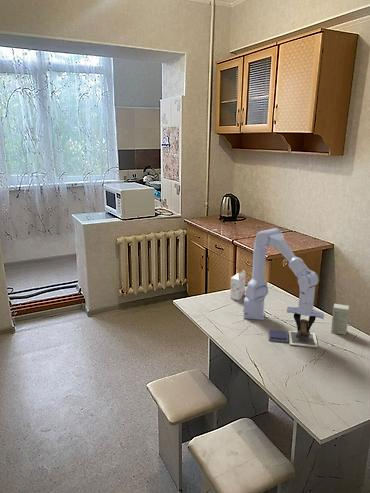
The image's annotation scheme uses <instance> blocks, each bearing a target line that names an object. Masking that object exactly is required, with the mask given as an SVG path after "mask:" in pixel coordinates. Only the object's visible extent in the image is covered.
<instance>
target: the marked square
mask: <svg viewBox="0 0 370 493" xmlns="http://www.w3.org/2000/svg"><path fill="white" fill-rule="evenodd" d="M297 331H298V330H288V331H287V332H288V343H289V346H291V347H292V346H293V347H303V348H312V349H318V348H319V345H318V341H317V337H316V333H315V332H310V336H309V339H308V340H305V339H301V338H296V333H297Z"/></svg>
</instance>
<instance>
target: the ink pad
mask: <svg viewBox="0 0 370 493" xmlns="http://www.w3.org/2000/svg"><path fill="white" fill-rule="evenodd" d="M267 334H268V342H269V341H270V342H277V343H286V344H287V343H289V334H288V331H286V330H276V329H268V333H267Z"/></svg>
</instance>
